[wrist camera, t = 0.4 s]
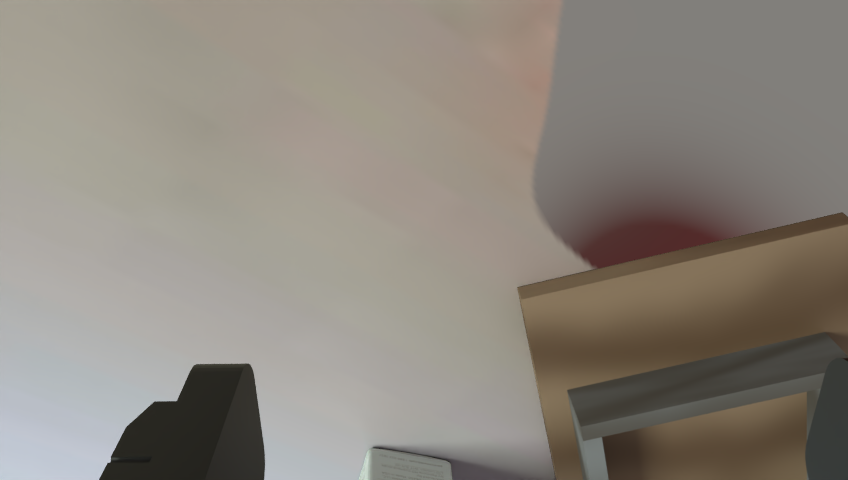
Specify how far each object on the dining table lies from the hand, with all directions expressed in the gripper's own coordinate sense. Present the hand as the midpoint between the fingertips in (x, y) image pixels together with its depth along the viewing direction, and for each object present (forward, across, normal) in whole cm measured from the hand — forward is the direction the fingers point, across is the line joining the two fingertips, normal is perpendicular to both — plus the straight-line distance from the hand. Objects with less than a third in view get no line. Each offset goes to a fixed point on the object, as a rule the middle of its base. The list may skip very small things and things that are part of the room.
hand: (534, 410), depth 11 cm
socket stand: (+21, -11, +18) cm, 30 cm away
